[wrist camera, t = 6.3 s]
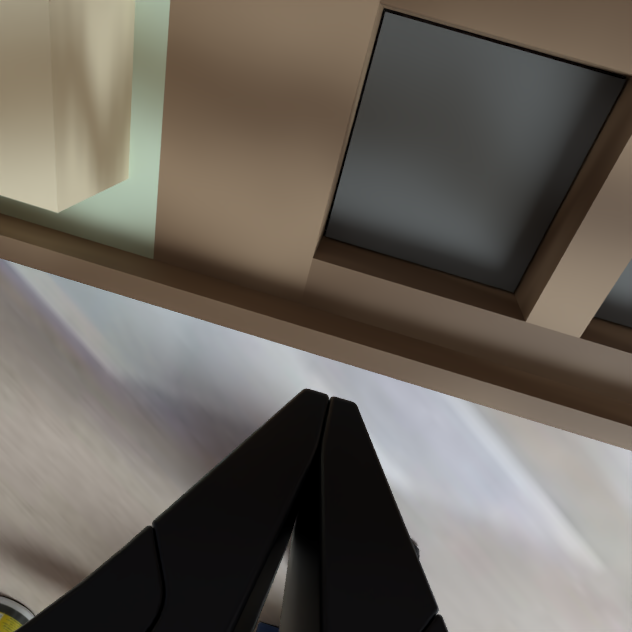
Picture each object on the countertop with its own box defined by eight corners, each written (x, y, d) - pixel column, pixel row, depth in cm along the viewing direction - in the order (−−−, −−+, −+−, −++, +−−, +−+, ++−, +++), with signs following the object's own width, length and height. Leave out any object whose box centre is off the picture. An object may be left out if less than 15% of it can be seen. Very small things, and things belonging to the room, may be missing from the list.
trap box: (728, 423, 21) (845, 564, 15) (-12, 199, 21) (-160, 255, 16) (1072, 69, 13) (1545, 89, 8) (-70, -247, 14) (-379, -432, 9)
